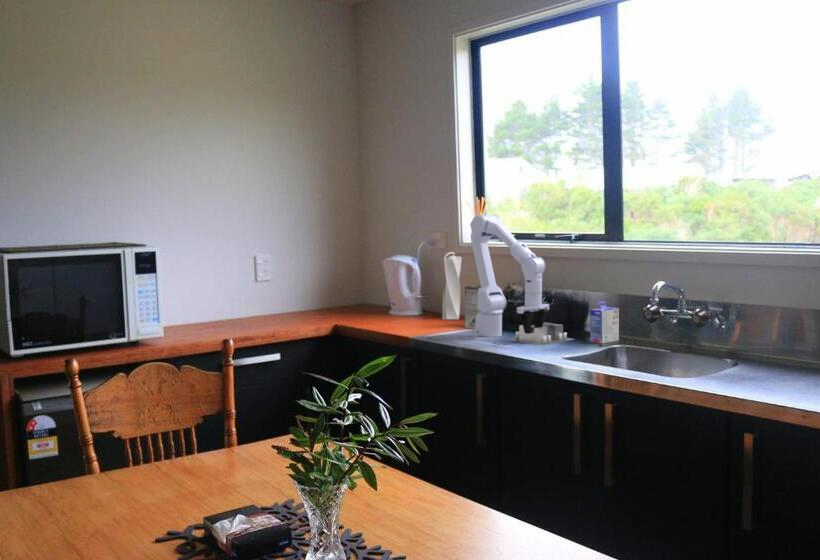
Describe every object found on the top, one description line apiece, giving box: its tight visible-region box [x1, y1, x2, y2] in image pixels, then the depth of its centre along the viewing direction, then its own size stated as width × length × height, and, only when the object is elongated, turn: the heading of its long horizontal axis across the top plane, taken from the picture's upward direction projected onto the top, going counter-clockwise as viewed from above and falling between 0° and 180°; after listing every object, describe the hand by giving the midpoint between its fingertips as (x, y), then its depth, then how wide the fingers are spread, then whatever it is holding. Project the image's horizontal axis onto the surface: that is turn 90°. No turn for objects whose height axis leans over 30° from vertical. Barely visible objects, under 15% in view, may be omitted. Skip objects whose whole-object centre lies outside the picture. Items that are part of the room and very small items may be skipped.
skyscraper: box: [441, 251, 463, 321], centre depth 332 cm, size 8×8×28 cm
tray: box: [507, 331, 576, 346], centre depth 275 cm, size 15×18×4 cm
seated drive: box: [543, 321, 564, 340], centre depth 277 cm, size 9×4×5 cm, turn 40°
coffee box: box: [464, 284, 490, 330], centre depth 309 cm, size 9×6×16 cm
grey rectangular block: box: [518, 324, 547, 343], centre depth 271 cm, size 9×4×5 cm, turn 40°
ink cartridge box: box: [589, 300, 620, 347], centre depth 271 cm, size 10×6×14 cm, turn 130°
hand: (532, 332), depth 271 cm, fingers open, 5 cm apart
